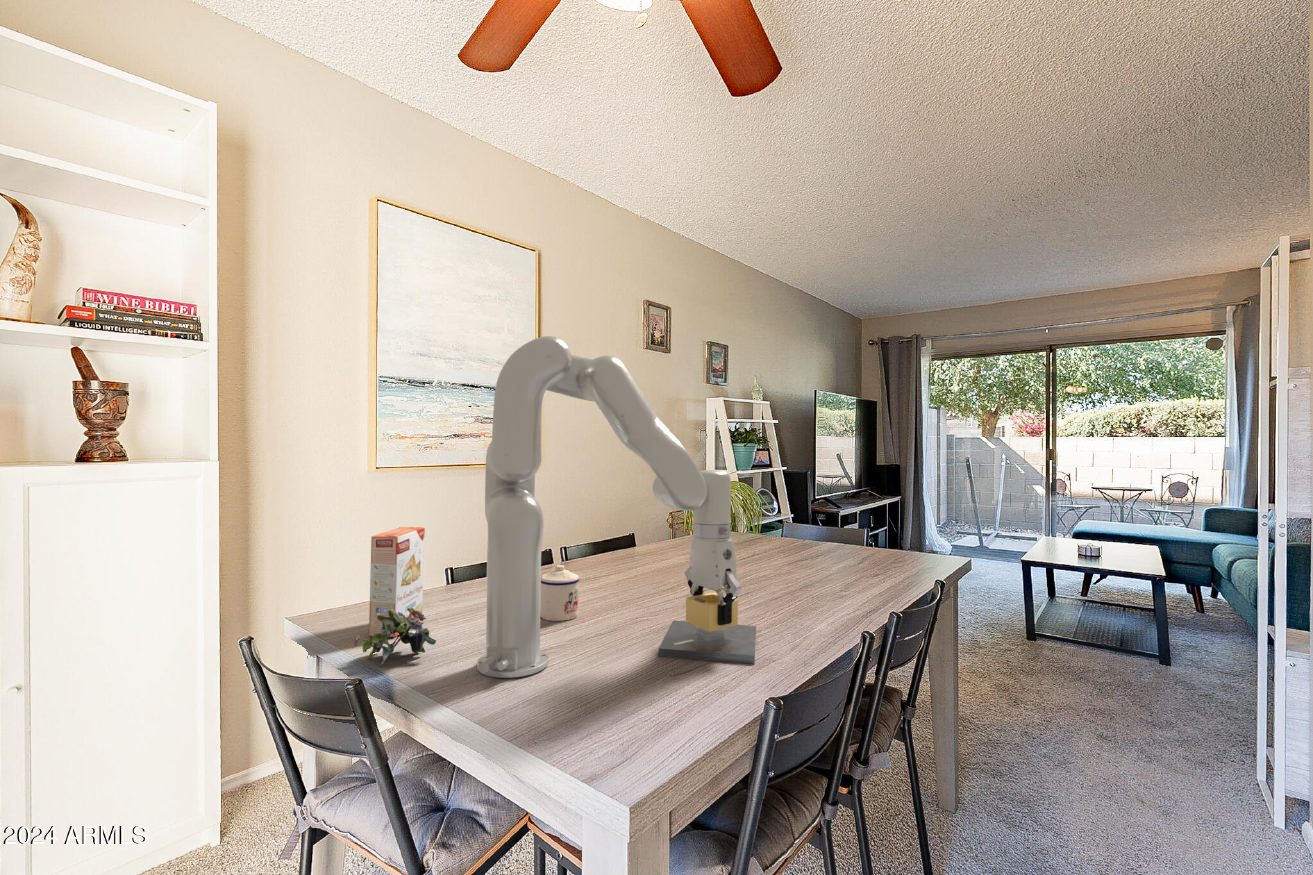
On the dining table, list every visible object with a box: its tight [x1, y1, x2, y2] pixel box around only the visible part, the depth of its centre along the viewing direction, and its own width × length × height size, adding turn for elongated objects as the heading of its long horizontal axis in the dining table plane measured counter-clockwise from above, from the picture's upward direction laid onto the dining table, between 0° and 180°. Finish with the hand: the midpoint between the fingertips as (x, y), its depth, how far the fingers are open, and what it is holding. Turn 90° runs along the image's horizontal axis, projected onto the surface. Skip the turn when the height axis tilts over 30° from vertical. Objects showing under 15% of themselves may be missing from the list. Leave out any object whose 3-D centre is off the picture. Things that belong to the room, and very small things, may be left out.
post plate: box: [658, 620, 757, 665], centre depth 121 cm, size 18×18×6 cm
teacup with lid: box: [540, 564, 580, 622], centre depth 141 cm, size 12×9×12 cm
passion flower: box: [353, 608, 437, 666], centre depth 111 cm, size 11×11×12 cm
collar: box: [685, 591, 739, 632], centre depth 121 cm, size 7×7×5 cm
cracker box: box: [368, 526, 426, 638], centre depth 129 cm, size 14×6×21 cm, turn 179°
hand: (711, 618), depth 121 cm, fingers closed on collar, 7 cm apart
